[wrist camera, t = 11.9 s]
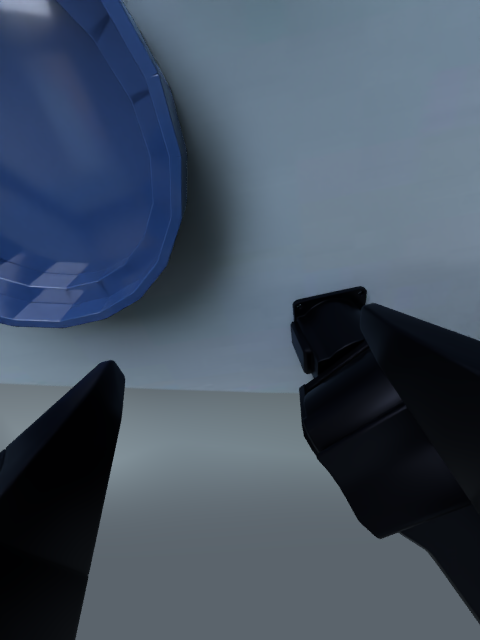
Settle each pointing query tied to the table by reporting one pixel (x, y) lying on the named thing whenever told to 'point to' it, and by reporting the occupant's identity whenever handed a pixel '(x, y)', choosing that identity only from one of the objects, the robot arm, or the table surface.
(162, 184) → the bowl
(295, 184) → the table surface
